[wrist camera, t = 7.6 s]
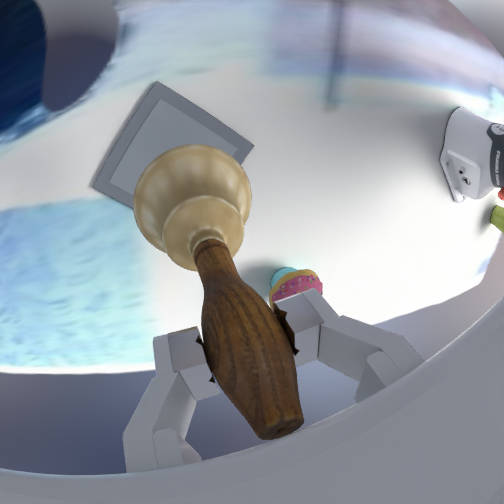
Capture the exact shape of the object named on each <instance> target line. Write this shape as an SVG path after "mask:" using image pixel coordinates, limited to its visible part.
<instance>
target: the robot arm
mask: <svg viewBox="0 0 504 504" xmlns="http://www.w3.org/2000/svg"><path fill="white" fill-rule="evenodd" d="M440 162H441V165H442V168H443V170H444V173H445V175H446V178H447V180H448V183H449V186H450V189H451V191H452V194H453V197H454V200H455V202H458V203H460V202H462V201H464V200H465V199H466V198H467V197H470V198H472V199H481V198H483V197H484V196H485V195H487V194H488V193H489V192H490V191H491V190H493V189H494V188H495V187H499V188H501V190H500V191H499V192H498V197H500V199H501V200H502V199H503V200H504V125H502V124H498V123H493V122H490V121H488V120H486V119H484V118H482V117H480V116H478V115H476V114H474V113H472V112H470V111H469V110H467V109H466V108H463V107H460V108H457V109H456V110H455V111H454V112H453V113H452V115H451V117H450V119H449V122H448V125H447V128H446V134H445V143H444V148H443V151H442V154H441V157H440ZM273 312H274V313H275V315H276V317H277V319H278V320H279V322H280V324H281V326H282V327H283V329H284V331H285V333H286V335H287V337H288V339H289V342H290V345H291V348H292V351H293V356H294V361H295V366H296V367H299V366H301V365H304V364H307V363H309V362H312V361H314V360H317V359H318V360H319V361H320V362H322V363H324V364H326V365H328V366H329V367H331V368H333V369H335V370H337V371H339V372H341V373H343V374H344V375H346V376H348V377H350V378H352V379H354V380H356V381H358V382H359V385H358V388H357V391H356V394H355V397H354V399H355V401H356V402H357V404H355V405H353V406H351V407H349V408H347V409H345V410H343V411H341V412H339V413H337V414H335V415H333V416H331V417H328V418H326V419H324V420H322V421H320V422H318V423H315V424H313V425H311V426H308V427H306V428H304V429H302V430H299V431H296V432H294V433H291V434H289V435H286V436H283V437H281V438H278V439H275V440H273V441H270V442H267V443H264V444H261V445H258V446H255V447H252V448H249V449H246V450H242V451H239V452H235V453H232V454H229V455H225V456H222V457H217V458H213V459H209V460H205V461H201V458H200V455H199V454H197V452H196V451H195V450H194V449H193V448H192V447H191V446H190V445H189V444H188V443H187V442H186V441H185V437H186V434H187V430H188V427H189V424H190V421H191V418H192V415H193V412H194V409H195V405H196V401H198V400H201V399H204V398H208V397H211V396H214V395H217V394H220V392H219V389H218V386H217V382H216V379H215V377H214V375H213V372H212V370H211V368H210V366H209V362H208V359H207V355H206V352H205V348H204V343H203V342H202V339H201V335H200V332H199V330H198V327H197V326H196V327H192V328H188V329H184V330H180V331H176V332H172V333H168V334H165V335H161V336H157V337H154V338H153V349H154V358H155V367H156V374H157V377H155V378H152V380H151V382H150V384H149V386H148V388H147V390H146V391H145V393H144V395H143V397H142V399H141V401H140V403H139V405H138V406H137V408H136V410H135V412H134V414H133V416H132V418H131V420H130V422H129V424H128V426H127V427H126V429H125V431H124V433H123V443H124V453H125V461H126V468H127V473H124V474H111V475H51V474H38V473H28V472H20V471H13V470H7V469H1V468H0V504H504V296H503V297H502V298H501V299H500V300H499V301H498V302H497V303H495V304H494V306H493V307H491V308H490V309H489V310H488V311H487V312H486V313H485V314H484V315H483V316H482V317H480V318H479V319H478V320H477V321H476V322H475V323H474V324H473V325H472V326H470V327H469V328H468V329H467V330H466V331H464V332H463V333H462V334H461V335H460V336H458V337H457V338H456V339H455V340H453V341H452V342H451V343H450V344H448V345H447V346H446V347H444V348H443V349H442V350H440V351H439V352H438V353H437V354H435V355H434V356H432V357H431V358H429V359H428V360H427V361H425V360H424V359H423V358H422V356H421V355H420V354H419V353H418V352H417V351H416V350H415V349H414V348H413V346H412V345H411V344H410V343H409V342H408V341H407V340H406V339H405V338H404V337H403V336H401V335H398V334H395V333H392V332H389V331H386V330H383V329H381V328H378V327H375V326H372V325H369V324H366V323H363V322H361V321H358V320H355V319H352V318H349V317H346V316H344V315H343V316H340V317H339V316H338V315H337V313H336V312H335V311H334V310H333V309H332V307H331V306H330V305H329V304H328V303H327V301H326V300H325V299H324V298H323V297H322V295H321V294H320V293H319V292H318V291H317V290H316V289H315V288H312V289H309V290H306V291H303V292H301V293H298V294H295V295H292V296H290V297H287V298H284V299H281V300H278V301H275V302H273Z"/></svg>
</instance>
